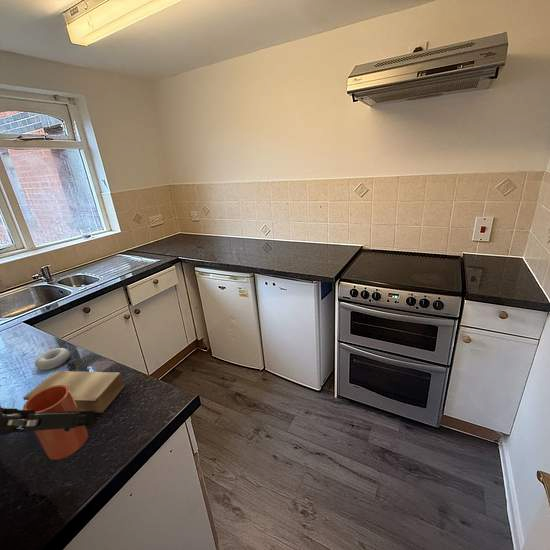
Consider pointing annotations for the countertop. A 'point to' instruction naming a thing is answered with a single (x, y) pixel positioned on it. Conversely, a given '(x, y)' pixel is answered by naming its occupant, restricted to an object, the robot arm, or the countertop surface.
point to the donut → (52, 359)
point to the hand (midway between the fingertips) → (74, 416)
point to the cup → (57, 440)
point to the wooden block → (85, 388)
